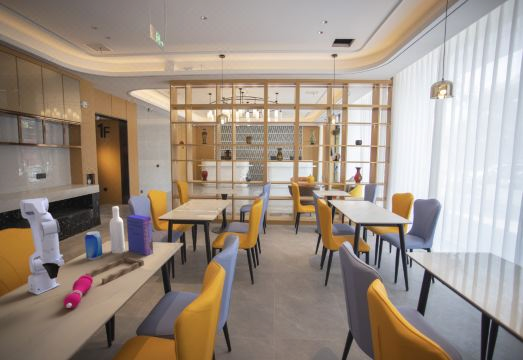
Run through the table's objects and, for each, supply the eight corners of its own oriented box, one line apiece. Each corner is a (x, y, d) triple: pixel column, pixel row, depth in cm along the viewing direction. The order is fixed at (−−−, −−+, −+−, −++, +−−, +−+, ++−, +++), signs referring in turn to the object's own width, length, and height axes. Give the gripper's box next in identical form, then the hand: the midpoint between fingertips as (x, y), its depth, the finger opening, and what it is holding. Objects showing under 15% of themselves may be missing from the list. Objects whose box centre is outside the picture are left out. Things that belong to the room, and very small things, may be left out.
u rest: (104, 283, 126) (104, 279, 126) (86, 277, 133) (85, 273, 132) (143, 264, 148) (143, 260, 147) (126, 260, 154) (126, 256, 153)
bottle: (114, 254, 162) (111, 208, 159) (109, 251, 167) (106, 207, 164) (127, 250, 169) (124, 206, 165) (121, 247, 173) (119, 204, 170)
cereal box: (153, 253, 164) (151, 217, 162) (146, 255, 160) (144, 219, 157) (135, 248, 172) (133, 214, 169) (128, 251, 168) (126, 215, 165)
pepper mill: (87, 290, 123) (70, 317, 104) (73, 283, 121) (53, 310, 102) (97, 278, 124) (82, 303, 105) (83, 271, 121) (65, 295, 102)
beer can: (105, 255, 161) (103, 230, 160) (95, 260, 153) (93, 235, 151) (93, 254, 162) (91, 230, 160) (83, 260, 154) (80, 234, 152)
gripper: (70, 247, 111) (73, 277, 112) (52, 242, 117) (54, 270, 118) (52, 253, 104) (55, 284, 106) (33, 248, 110) (36, 277, 112)
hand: (53, 277), depth 112 cm, fingers closed
